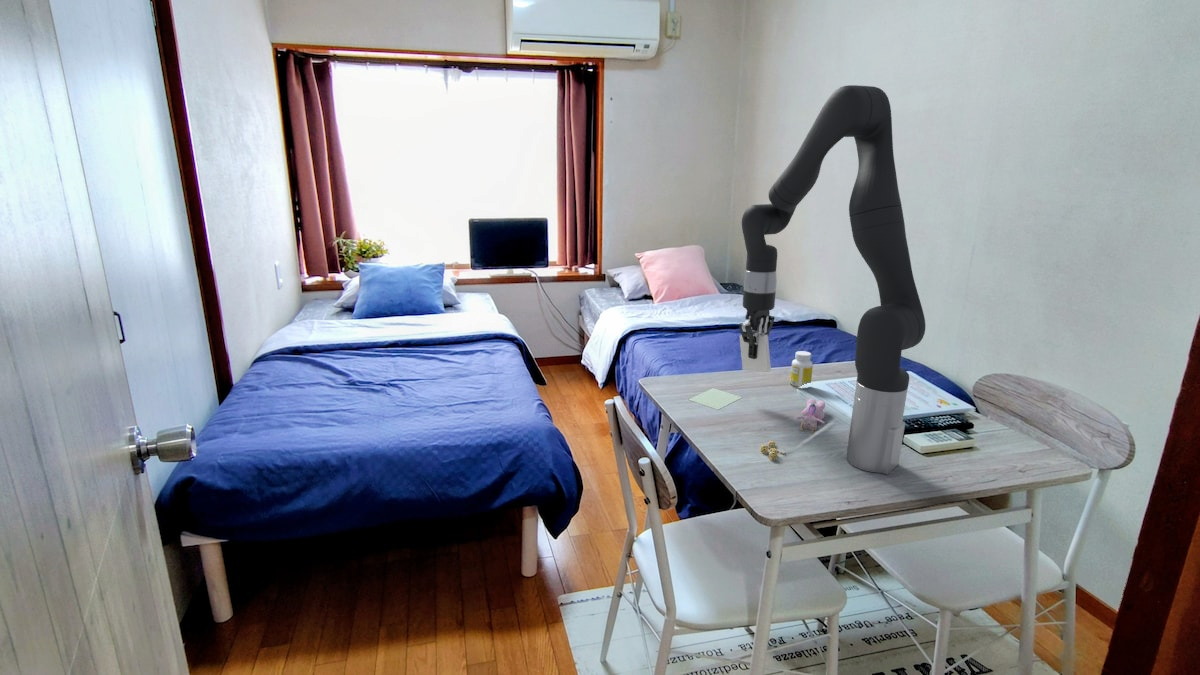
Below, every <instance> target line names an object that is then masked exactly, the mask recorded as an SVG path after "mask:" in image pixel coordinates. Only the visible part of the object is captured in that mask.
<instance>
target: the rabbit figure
mask: <svg viewBox="0 0 1200 675" xmlns="http://www.w3.org/2000/svg"><path fill="white" fill-rule="evenodd" d="M825 407H826V403H825V401H824V400H818V401H816V399H814V398H809V399H807V401H806V407H805V408H804V409H803V410H802V411H801V415H802V416H801V415H800V416H796V419H797V420H800V419H802V420H801V423H800V429H799V431H804V430H803V429H809V430H810V433H812V435H814V434H815V431H816V430H817V429H818V422H819V423H821V424H823V425H824V424H825V423H826V422H825V421H824V418H825V414H824V412H823V410H824V409H825Z"/></svg>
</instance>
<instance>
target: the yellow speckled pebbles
mask: <svg viewBox="0 0 1200 675" xmlns="http://www.w3.org/2000/svg"><path fill="white" fill-rule="evenodd" d="M767 443H768V444H767V445H766V444H761V445H760V453H761V454H767V453H768V459H769V460H770V461H775V462H776V460H777V454H779V453H780V455H781V456H786V454H787V453H786V452H780V451H779V450H778V449H776V448H775V447H776V442H775V441H774V440H769V441H768V442H767ZM768 450H770V452H769V451H768Z"/></svg>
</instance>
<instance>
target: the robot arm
mask: <svg viewBox="0 0 1200 675" xmlns="http://www.w3.org/2000/svg"><path fill="white" fill-rule="evenodd" d="M819 111H820V112H819V113H818V114H817V116H816V118H815V120H814V121H813V124H812V126H811V127H810V129H809V131H808V132H807V134H806V137H805V138H804V140H803V141H802V143H801V145H800V147H799V149H798V151H797V152H796V154H795V155H794V157H793V158H792V160H791V161H790V163H788V165H787V167H786V168H785V169H784V170H783V172H782V173H781V174H780V175H779V177H778V178H777V179H776V181H775V182H774V183H773V184H772V186H771V187H770V189H769V190H768V199H769V202H770V203H768V204H752V205H749V206H748V207H747V208H746V209H745V210H744V212H743V214H742V218H741V229H742V235H743V239H744V246H745V248H746V250H745V251H746V264H745V265H746V266H745V274H744V280H743V294H742V307H743V308H744V309H746V314H745V321H744V322H742V323H739V324H738V328H739V331H740V335H742V337H743V340H744V342H747V343H749V351H748V357H749V358H752V359H756V358H757V350H758V342H759V335H768V337H769V335H770V332H771V329H772V327H773V324H774V322H775V319H776V318H775V316H774V315H773V316H772V315H770V314H771V313H770V311H772V310H774V308H775V305H776V304H775V303H776V292H777V266H778V265H777V264H778V249H777V248H776V247H775V246H774V245H771V244H767V242H766V239H765V236H766V235H768V236H769V235H777V234H779V233H781V232H782V231H783V230H785V229H786V227H787V226H788V225H789V224H790V222H791V219H792V217H793V215H794V214H795V211H796V208H797V206H798V205H799V204H800V203H801V201H802V200H804V198H805V197H806V196H808V193H809V192H810V191H811V190H812V189H813V187H814V186H815V184H816V182H817V180H818V178H819V175H820V172H821V168H822V163H823V161H824V160H825V157H826V156H827V154H828V153H829V151H830V150H831V149H833V147H834V146H836V144H837V143H839V142H840V141H841V140H843V138H844V137H845V138H854V141H855V145H856V151H857V158H858V170H857V175H856V178H855V180H854V184H853V188H852V190H851V191H852V192H851V194H850V200H849V203H848V204H849V205H848V214H849V222H850V227H851V234H852V238H853V243H854V244H855V246H856V249H857V251H858V252H859V254H860V255H861V257H862V259H863V260H864V262H865V263H866V265H867V266H868V268H869V269H870V270H871V273H872V274H873V276H874V279H875V281H876V284H877V288H878V293H879V294H878V296H879V300H880V301H879V303H880V305H878V306H877V305H876V306H874V307H871V308H869V309H868V310H866V311H865V312H864V313H863V315H862V316H861V318H860V319H859V320H860V321H859V324H858V327H857V333H856V343H855V357H854V365H855V368H856V374H857V376H856V377H857V378H856V382H855V383H856V385H855V391H854V398H853V406H852V413H851V419H850V420H851V421H850V427H849V434H848V442H847V448H846V455H845V456H846V457H845V458H846V460H847V462H848V463H849V464H850V465H852V466H853V467H856V468H857V469H860V470H862V471H865V472H871V473H881V474H883V475H884V474H885V475H889V474H891V472H892V471H893V470H895V469H896V467H897V466H898V465H899V463H900V459H901V458H900V457H901V450H902V445H903V439H904V434H905V433H904V432H905V428H906V422H905V421H904V420H903V417H904V415H905V414H904V413H905V407H906V401H907V396H908V389H909V384H910V383H909V382H910V375H909V373H908V372H907V370H905V369H904V368H902V367H901V359H902V351H904V350H907V349H912V348H914V347H916V346H918V345H919V344H920V343H921V341H922V340H923V339H924V336H925V333H926V320H925V319H926V318H925V314H924V310H923V306H922V302H921V300H920V295H919V293H918V290H917V286H916V283H915V278H914V274H913V269H912V268H913V267H912V262H911V256H910V251H909V246H908V245H909V244H908V241H907V233H906V224H905V218H904V212H903V207H902V201H901V200H902V199H901V197H900V190H899V186H898V185H899V184H898V178H897V177H898V176H897V170H896V164H895V163H896V162H895V157H894V155H895V154H894V143H893V122H892V121H893V118H892V109H891V102H890V100H889V97H888V95H887V93H886V92H885V91H884V90H883V89H881V88H880V87H877V86H873V85H872V86H871V85H870V86H869V85H858V84H857V85H855V84H854V85H853V84H851V85H843V86H840V87H838V88H837V89H835V90H834V91H833V92H832V93H831V94H830V95H829V97H828V98H827V100H826V101H825V103H824V105H823V106H822V107H821V109H820V110H819ZM753 335H754V336H755V339H754V336H753Z"/></svg>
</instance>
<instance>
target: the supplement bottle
mask: <svg viewBox="0 0 1200 675" xmlns="http://www.w3.org/2000/svg"><path fill="white" fill-rule="evenodd" d="M794 355H795V356H794V357H795V359H792V361H791V369H790V370H791V371H790V379H789V386H790V387H792V388H795V389H798V388H799V387H800V386H802V385H804V384H807V383H811V384H812V377H813V376H812V375H813V365H814V364H813V362H812V361H811V359H812V353H811V352H809V351H805V350H798V351H796V352H795V354H794ZM798 390H799V389H798Z"/></svg>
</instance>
